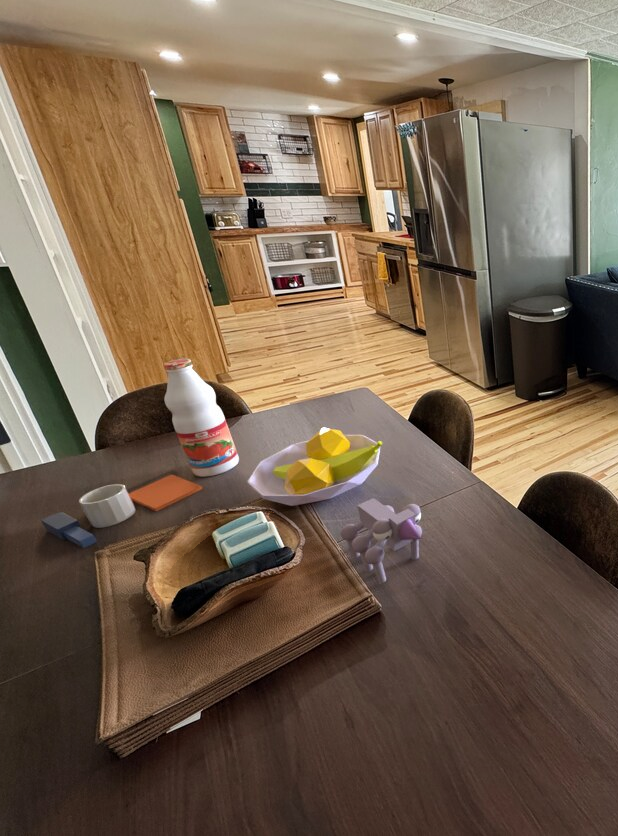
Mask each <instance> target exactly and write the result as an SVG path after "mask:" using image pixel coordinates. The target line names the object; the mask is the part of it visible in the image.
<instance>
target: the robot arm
mask: <svg viewBox="0 0 618 836" xmlns="http://www.w3.org/2000/svg"><path fill="white" fill-rule="evenodd" d="M11 442H12V439H11V437H10V436H9V434H8V431H7V430H6V429H5V426H4V425H3V423H2V421H1V420H0V447H1V446H4V445H7V444H9V443H11Z"/></svg>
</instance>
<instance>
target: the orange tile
mask: <svg viewBox="0 0 618 836" xmlns="http://www.w3.org/2000/svg"><path fill="white" fill-rule="evenodd" d="M202 490H203V487H202V485H200V484H197V483H194V482H192V481H189V480H187V479H184V478H182V477H179V476H177V475H174V474H169V475H167V476H165V477H164V478H163V477H162V478H161V479H158V480H156V481H154V482H152V483H149V484H147V485H145V486H143V487H141V488H138V489H135V490H133V491H132V492H128V494H129V496H130V498H131V500H132V502H133V503H134V502H135V503H136V504H139V505H140V506H143V507H145V508H147V509H150V510H152V511H154V512H158V511H160V510H163V509H164V508H166V507H169V506H170V505H172V504H174V503H177V502H179V501H181V500H183V499H185V498H187V497H189V496H191V495H193V494H195V493H197V492H199V491H202Z"/></svg>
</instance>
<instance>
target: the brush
mask: <svg viewBox="0 0 618 836" xmlns="http://www.w3.org/2000/svg"><path fill="white" fill-rule="evenodd" d="M40 521H41V523H42V525H43V527H44V528H45V530H46V532H48V533H49V534H51V535H53V536H54V537H57V538H58V539H60V540H62V541H66V540H67V541H70V542H71V543H74V544H75V545H77V546H78V547H80V548H82V549H85V548H88V547H89V546H92V545H94V544H96V543H97V542H98V541H97V539H96V536H95V535H94V534H93V533H91V532H89V531H88V530H85V529H83V527H82V526H81V524H80V522H79V520H77V519H76V518H74V517H72V516H70V515H68V514H66V513H64V512H62V511H59V512H57V513H54V514H52V515H49V516H47V517H45V518H43V519H40Z"/></svg>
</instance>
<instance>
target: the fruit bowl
mask: <svg viewBox="0 0 618 836" xmlns="http://www.w3.org/2000/svg"><path fill="white" fill-rule="evenodd" d="M383 445H384V443H383V442H382V441H381V440H378V441H375V440H373V439H371V438H370V437H368V436H366V435H364V434H343V432H342V431H341V430H340V429H334V428H327V427H322V428H320V430H318V432H316V434H314V435H313V436H312V437H311V438H310V439H309V440H304V441H301V442H297V443H293V444H290V445H289V446H287V447H284V448H283V449H282V450H280V451H278V452H276V453H274V454H272V455H270V456H268V457H266V458H264V459H262V460H261V461H260V462H259V463H258V464H257V466H256V467H255V469H254V471H253V472H252V473H251V475H250V477H249V478H248V480H246V481H247V484H248V485H250V487H251V488H252V489H253V490H254V491H255V492H256V493H257V494H258V495H259V497H261V498H262V499H263V500H265V501H266V500H267V501H271V502H274V503H277V504H278V503H279V504H281V505H286V506H291V507H294V506H299V505H305V504H310V503H316V502H320V501H325V500H330V499H332V498H334V497H336V496H339V495H341V494H343V493H346V492H347V491H349V490H352V489H354V488H357V487H358V486H361V485H362V484H363V483H364V482H365V480H366V479H367V478H368V477H369V476H370V475H371V473H372V472H373V471H374V470H375V469H376V468H377V466H378V465H379V459H380V453H381V446H383Z"/></svg>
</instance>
